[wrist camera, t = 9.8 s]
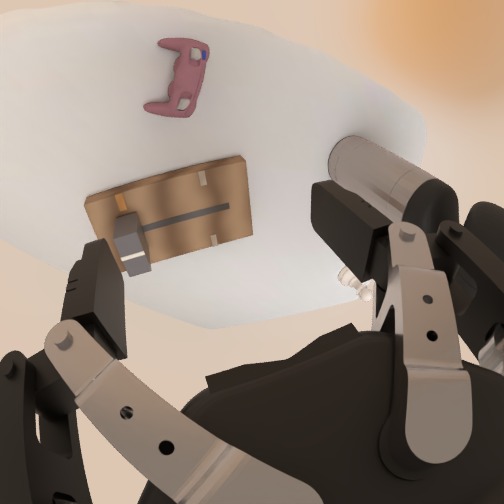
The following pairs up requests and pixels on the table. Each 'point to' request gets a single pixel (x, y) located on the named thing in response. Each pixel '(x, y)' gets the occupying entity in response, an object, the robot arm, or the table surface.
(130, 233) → the fader cap
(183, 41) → the video game controller
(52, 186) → the table surface
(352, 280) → the chess pawn
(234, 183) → the fader base
